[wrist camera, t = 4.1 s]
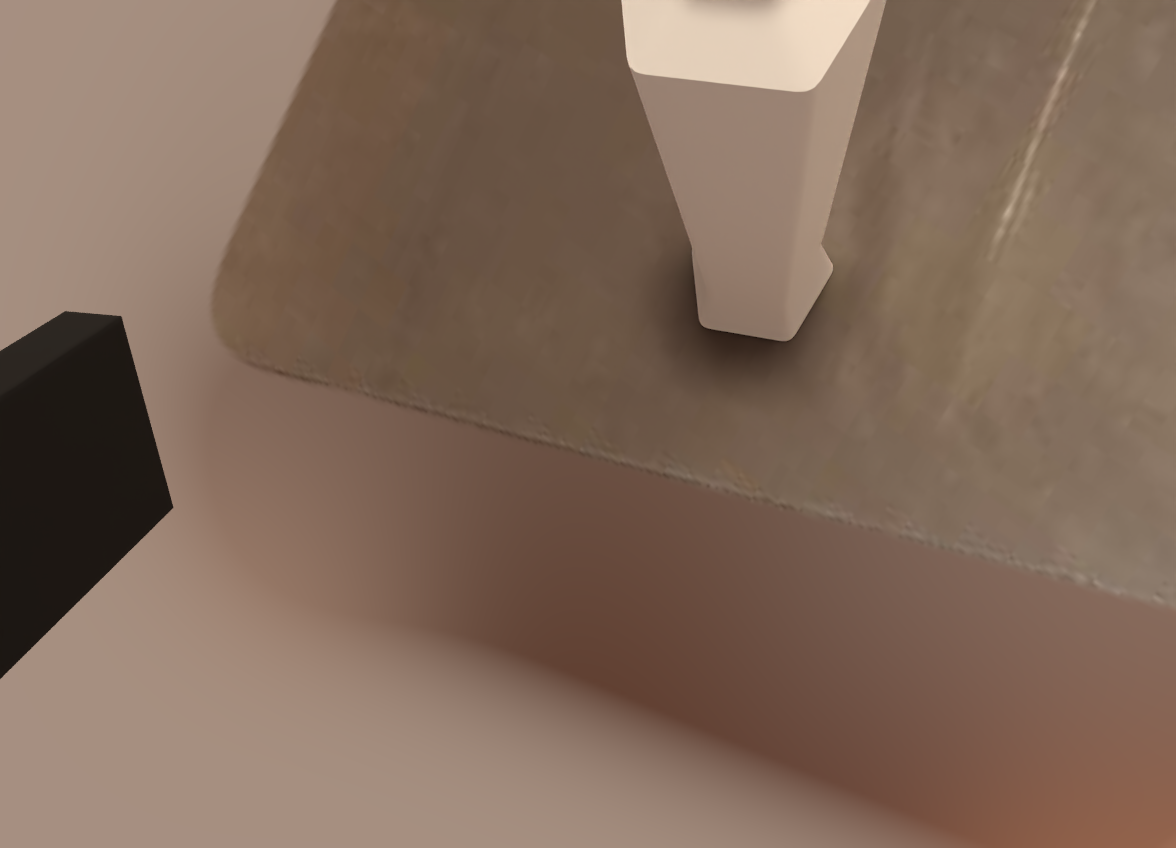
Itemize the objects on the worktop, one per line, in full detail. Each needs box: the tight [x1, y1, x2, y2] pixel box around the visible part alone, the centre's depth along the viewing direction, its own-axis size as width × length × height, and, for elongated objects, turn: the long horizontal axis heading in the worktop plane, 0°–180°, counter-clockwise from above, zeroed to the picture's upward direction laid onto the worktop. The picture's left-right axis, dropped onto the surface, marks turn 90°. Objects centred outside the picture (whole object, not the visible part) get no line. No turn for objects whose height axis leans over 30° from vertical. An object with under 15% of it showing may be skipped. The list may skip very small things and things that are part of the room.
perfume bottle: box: [622, 0, 886, 341], centre depth 21 cm, size 5×4×15 cm
